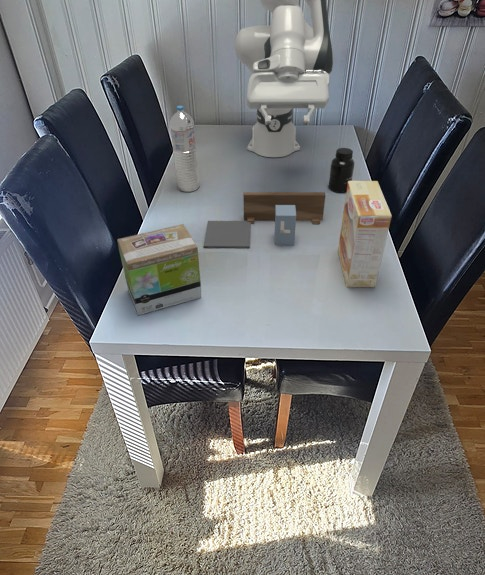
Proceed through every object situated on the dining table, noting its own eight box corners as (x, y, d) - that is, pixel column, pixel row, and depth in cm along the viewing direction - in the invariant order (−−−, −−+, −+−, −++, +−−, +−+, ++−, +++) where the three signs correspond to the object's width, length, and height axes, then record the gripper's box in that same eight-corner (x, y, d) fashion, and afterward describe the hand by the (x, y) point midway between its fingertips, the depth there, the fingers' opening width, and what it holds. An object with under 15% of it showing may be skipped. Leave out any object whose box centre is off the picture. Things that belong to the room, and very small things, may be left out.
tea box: (138, 318, 97) (125, 264, 87) (128, 290, 104) (114, 237, 94) (203, 298, 101) (197, 245, 91) (189, 273, 108) (182, 221, 98)
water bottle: (190, 180, 144) (181, 100, 127) (204, 187, 140) (197, 106, 124) (173, 187, 140) (162, 106, 124) (187, 195, 136) (177, 112, 120)
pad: (208, 222, 125) (207, 220, 124) (250, 222, 124) (250, 220, 124) (203, 247, 116) (203, 246, 115) (249, 248, 115) (249, 246, 115)
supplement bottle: (350, 194, 135) (356, 156, 127) (327, 192, 136) (332, 155, 128) (350, 183, 140) (356, 146, 132) (328, 181, 141) (333, 145, 133)
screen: (244, 214, 128) (243, 189, 122) (321, 214, 127) (324, 189, 122) (243, 223, 124) (243, 198, 119) (323, 224, 123) (326, 198, 118)
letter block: (274, 234, 120) (275, 205, 114) (293, 234, 120) (295, 205, 114) (274, 245, 116) (275, 215, 110) (294, 245, 116) (296, 216, 110)
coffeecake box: (336, 249, 114) (347, 180, 101) (364, 249, 114) (378, 179, 101) (345, 287, 103) (357, 215, 90) (376, 288, 103) (393, 215, 90)
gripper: (327, 76, 114) (327, 129, 113) (247, 77, 114) (246, 129, 113) (331, 62, 107) (331, 118, 106) (246, 63, 108) (246, 118, 107)
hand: (287, 124), depth 110 cm, fingers open, 8 cm apart
